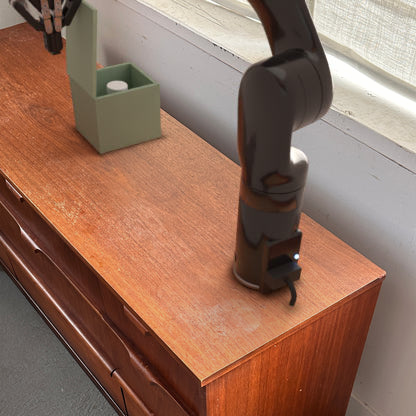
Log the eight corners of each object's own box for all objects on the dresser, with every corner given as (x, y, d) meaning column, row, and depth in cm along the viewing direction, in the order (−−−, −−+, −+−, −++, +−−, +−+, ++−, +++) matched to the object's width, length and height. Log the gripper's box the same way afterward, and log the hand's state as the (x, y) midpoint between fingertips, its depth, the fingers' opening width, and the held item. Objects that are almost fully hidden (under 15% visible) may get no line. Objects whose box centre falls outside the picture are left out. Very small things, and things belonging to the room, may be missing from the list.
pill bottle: (129, 136, 126) (126, 92, 119) (104, 133, 126) (99, 89, 120) (136, 124, 129) (133, 80, 122) (111, 121, 130) (108, 77, 123)
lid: (69, -12, 111) (64, -12, 110) (97, 10, 104) (93, 10, 104) (70, 72, 121) (66, 73, 120) (96, 97, 114) (92, 97, 114)
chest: (134, 113, 134) (131, 61, 126) (161, 137, 127) (159, 83, 119) (75, 128, 129) (68, 75, 121) (100, 154, 122) (94, 99, 114)
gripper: (5, -50, 93) (27, 69, 106) (87, -62, 98) (98, 53, 111) (-12, -64, 97) (11, 52, 110) (67, -74, 102) (80, 38, 115)
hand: (55, 53), depth 111 cm, fingers closed
